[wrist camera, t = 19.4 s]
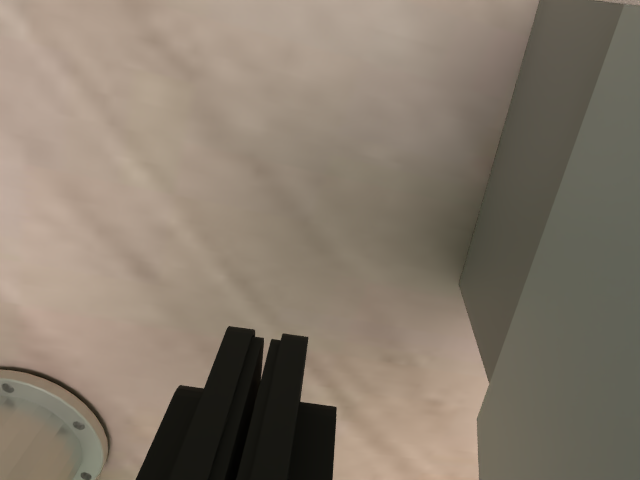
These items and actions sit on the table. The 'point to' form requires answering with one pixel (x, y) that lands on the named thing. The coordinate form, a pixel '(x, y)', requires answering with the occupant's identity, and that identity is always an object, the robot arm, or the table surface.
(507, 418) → the lid
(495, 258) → the bin
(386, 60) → the table surface
